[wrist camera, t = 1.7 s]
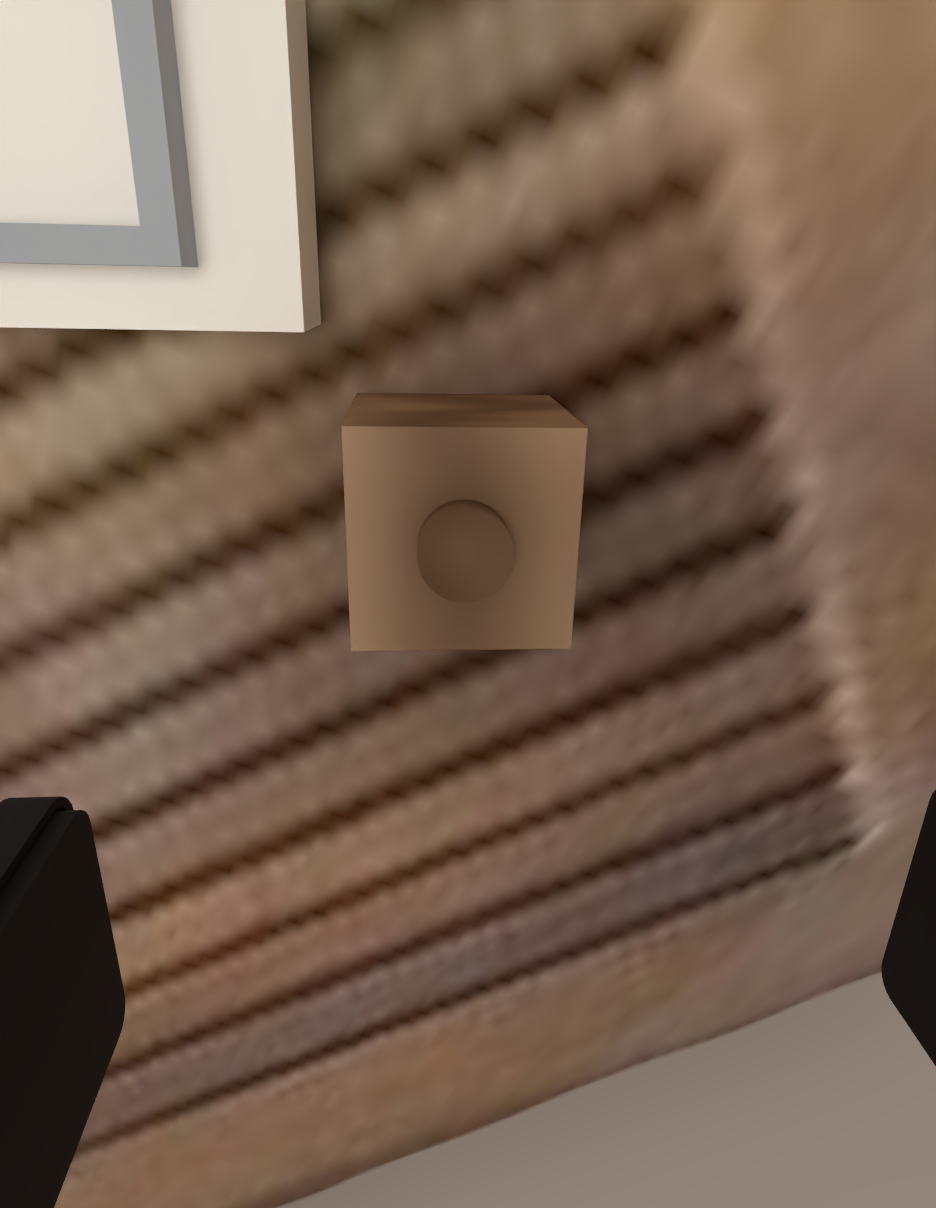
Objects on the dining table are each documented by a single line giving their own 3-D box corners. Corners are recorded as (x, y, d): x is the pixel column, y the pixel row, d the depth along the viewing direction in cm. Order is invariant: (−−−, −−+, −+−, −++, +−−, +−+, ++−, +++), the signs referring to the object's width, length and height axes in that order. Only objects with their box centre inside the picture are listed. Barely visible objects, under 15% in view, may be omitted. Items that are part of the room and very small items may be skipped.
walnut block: (548, 394, 25) (596, 435, 18) (538, 572, 27) (577, 665, 21) (357, 392, 24) (337, 433, 18) (363, 573, 27) (348, 667, 20)
